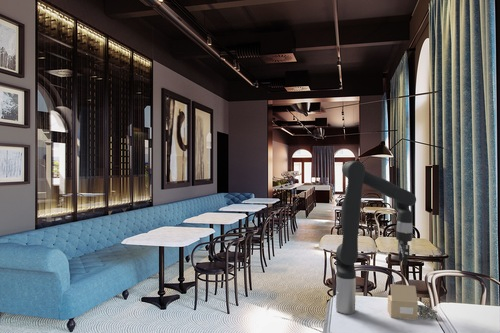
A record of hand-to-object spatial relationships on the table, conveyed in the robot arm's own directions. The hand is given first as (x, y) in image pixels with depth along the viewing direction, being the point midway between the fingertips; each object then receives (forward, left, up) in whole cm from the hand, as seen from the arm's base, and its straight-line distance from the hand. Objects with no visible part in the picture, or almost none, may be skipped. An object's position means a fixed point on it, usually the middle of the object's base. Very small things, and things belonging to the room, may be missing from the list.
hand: (402, 262), depth 188 cm
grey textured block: (+10, -5, -25) cm, 27 cm away
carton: (-2, -8, -24) cm, 25 cm away
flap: (-2, -10, -13) cm, 16 cm away
